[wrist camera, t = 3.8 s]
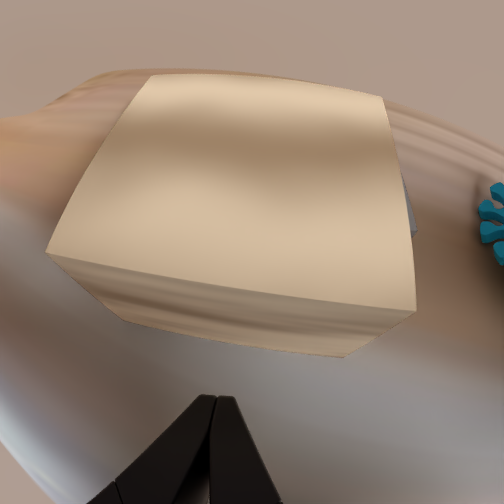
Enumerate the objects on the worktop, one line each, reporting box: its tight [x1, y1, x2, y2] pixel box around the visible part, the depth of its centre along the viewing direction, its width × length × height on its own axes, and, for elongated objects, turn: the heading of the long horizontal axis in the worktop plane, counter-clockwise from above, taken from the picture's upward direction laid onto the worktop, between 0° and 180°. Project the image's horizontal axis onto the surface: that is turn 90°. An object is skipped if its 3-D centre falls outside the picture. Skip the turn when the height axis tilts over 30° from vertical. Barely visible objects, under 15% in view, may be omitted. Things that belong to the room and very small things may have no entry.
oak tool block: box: [45, 74, 417, 358], centre depth 13 cm, size 10×11×8 cm
